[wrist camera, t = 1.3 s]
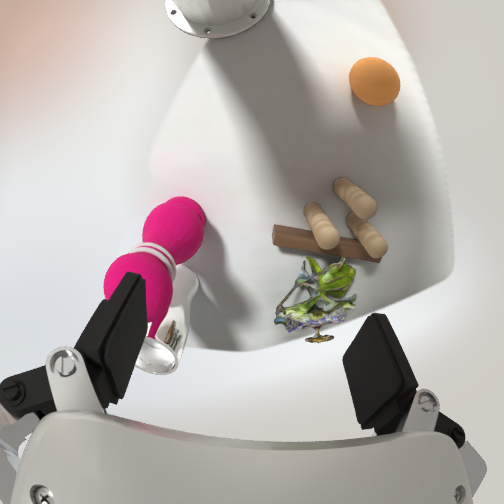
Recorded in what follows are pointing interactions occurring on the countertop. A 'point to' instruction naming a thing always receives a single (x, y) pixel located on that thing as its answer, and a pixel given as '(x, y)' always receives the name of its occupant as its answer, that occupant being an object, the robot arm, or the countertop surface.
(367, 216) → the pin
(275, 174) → the countertop surface
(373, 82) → the ball
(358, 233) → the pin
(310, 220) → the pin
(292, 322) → the passion flower
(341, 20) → the countertop surface
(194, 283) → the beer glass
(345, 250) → the wall
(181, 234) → the pepper mill
